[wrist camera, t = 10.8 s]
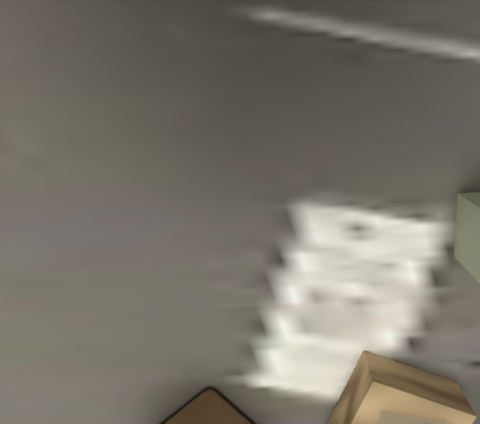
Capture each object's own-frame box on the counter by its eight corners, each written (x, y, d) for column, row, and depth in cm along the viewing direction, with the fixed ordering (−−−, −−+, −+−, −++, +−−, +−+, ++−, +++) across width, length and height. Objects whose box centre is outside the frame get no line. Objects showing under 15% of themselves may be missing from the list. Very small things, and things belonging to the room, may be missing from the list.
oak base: (363, 348, 43) (373, 381, 39) (455, 379, 43) (476, 416, 39) (326, 421, 46) (331, 460, 42) (412, 450, 47) (427, 492, 42)
